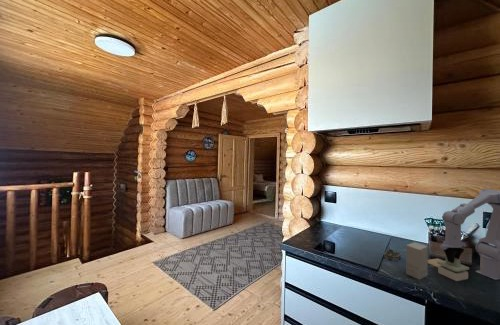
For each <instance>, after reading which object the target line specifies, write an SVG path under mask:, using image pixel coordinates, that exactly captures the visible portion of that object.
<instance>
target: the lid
mask: <svg viewBox="0 0 500 325" xmlns="http://www.w3.org/2000/svg"><path fill="white" fill-rule="evenodd" d="M444 259H445V260H443V261H438V262H437V264H440V265H442V266H443V267H446V268H448V269H450V270H452V271H455V272H459V271H464V270H465V271H468V270H470V267H469V266H466V265H464V264H462V263H461V259H460V258H459V259H457V258H455V259H454V263H451V262H449V261H448V260H447V256H446V255H445V258H444Z"/></svg>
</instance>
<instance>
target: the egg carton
mask: <svg viewBox="0 0 500 325" xmlns="http://www.w3.org/2000/svg"><path fill="white" fill-rule="evenodd" d="M383 258H384V259H385V260H389V261H392V262H398V261H399V260H400V259H401V258H402V253H401V252H398V251H395V252H394V249H392V248H390V247H388V248H387V249H386V250H385V251H384V253H383Z"/></svg>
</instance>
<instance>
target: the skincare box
mask: <svg viewBox="0 0 500 325" xmlns="http://www.w3.org/2000/svg"><path fill="white" fill-rule="evenodd" d="M428 252H429V246H428V245H425V244H422V243H419V242H415V241H414V242H411V243H408V244H406V251H405V254H406V257H405V259H406V260H405V274H406V275H408V276H410V277H412V278H414V279H417V280H422V279H424V278H426V277H427V276H428V260H429V258H428V257H429V256H428V255H429V253H428Z"/></svg>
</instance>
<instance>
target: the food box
mask: <svg viewBox="0 0 500 325" xmlns="http://www.w3.org/2000/svg"><path fill="white" fill-rule="evenodd" d="M447 269H448V268H446V267H443V266H438V268H437V271H438V274H439V275H442V276H444V277H447V278H449V279H451V280H453V281H455V282H460V281H465V280H469V271H468V270H464V271H459V272H458V273H454V272H452V271H450V270H447Z"/></svg>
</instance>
